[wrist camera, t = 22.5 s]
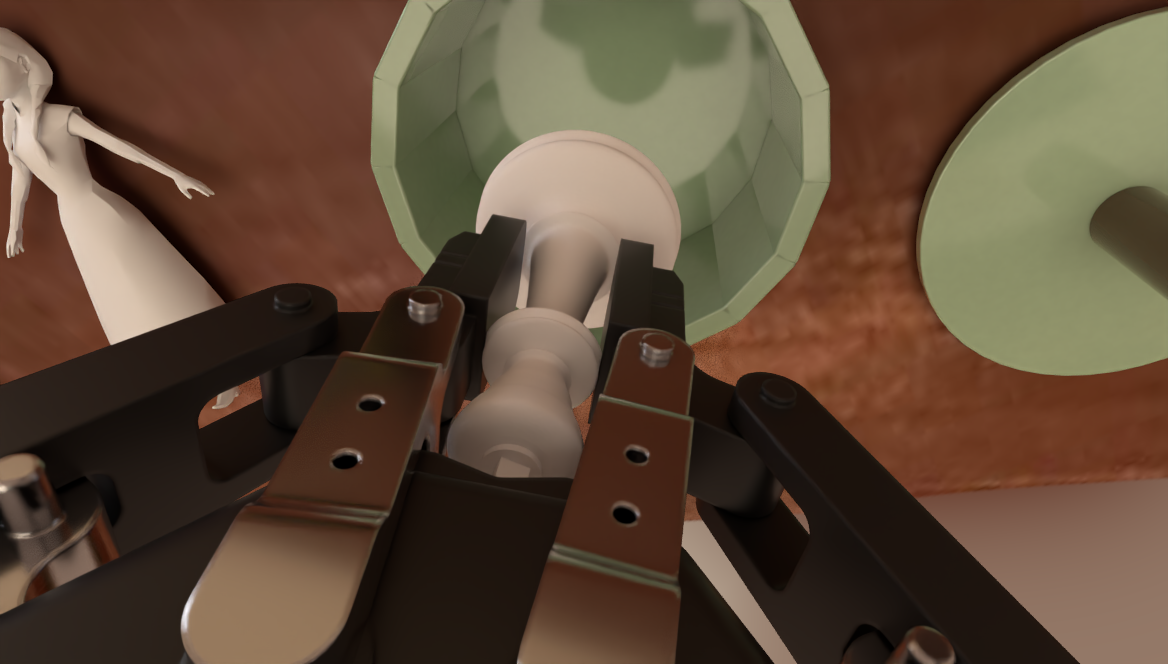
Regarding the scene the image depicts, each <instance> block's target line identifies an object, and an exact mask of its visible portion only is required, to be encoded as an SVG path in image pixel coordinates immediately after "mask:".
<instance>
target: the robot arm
mask: <svg viewBox="0 0 1168 664" xmlns="http://www.w3.org/2000/svg"><path fill="white" fill-rule="evenodd" d="M526 228H527V222H526V220H522V219H517V218H512V217H506V216H501V215H496V214H492V216H491V217H490V219H489V221H488V222H487V224H486V226H485V228H484V229H483V231H482V233H481V234H478V233H472V232H467V231H464V232H462V233H460V234H458V235H456V236H454V237H452V238H450V239H449V240H448V241H447V243H446V244H445V246H444V247H443V249H442V250H441V253H439V255H438V256H437V258H436V259H435V262H433V264H432V265H431V267H430V268H429V270H428V271H427V273H426V274H425V276H424V277H423V279H422V280H421V282H420V283H419V285H418V286H412V287H407V288H403V289H400V290H398V291H395V292H394V293H392V294H391V295H390V296H389V297H388V298H387V299H386V301H385V303H384V305H383V307H382V309H381V311H376V312H338V307H337V299H336V297H335V296H334V295H333V294H332V293H331V292H330V291H328V290H326V289H324V288H322V287H319V286H315V285H311V284H301V283H292V284H282V285H277V286H273V287H270V288H267V289H264V290H261V291H259V292H256V293H253V294H250V295H248V296H245V297H242V298H239V299H237V300H234V301H231V302H228V303H226V304H223V305H220V306H217V307H215V308H212V309H209V310H206V311H204V312H201V313H198V314H195V315H193V316H190V317H187V318H184V319H182V320H179V321H176V322H173V323H171V324H168V325H165V326H162V327H160V328H157V329H154V330H151V331H149V332H146V333H143V334H140V335H138V336H135V337H132V338H129V339H127V340H124V341H121V342H118V343H116V344H113V345H110V346H107V347H105V348H102V349H99V350H96V351H94V352H91V353H88V354H85V355H83V356H80V357H77V358H74V359H72V360H69V361H66V362H63V363H61V364H58V365H55V366H52V367H50V368H47V369H44V370H41V371H39V372H36V373H33V374H30V375H28V376H25V377H22V378H19V379H17V380H14V381H11V382H8V383H6V384H3V385H0V664H774V663H773V662H772V660H771V659H770V657H769V656H768V655H767V654H766V652H765V651H764V650H763V648H762V647H761V646H760V645H759V643H758V642H757V641H756V640H755V638H754V637H753V636H752V634H751V633H750V632H749V630H748V629H747V628H746V627H745V625H744V624H743V623H742V622H741V620H740V619H739V618H738V616H737V615H736V614H735V612H734V611H733V610H732V609H731V607H730V606H729V605H728V604H727V602H726V601H725V600H724V598H722V596H721V595H720V593H719V592H718V591H717V589H716V588H715V587H714V586H713V584H712V583H711V582H710V581H709V579H708V578H707V577H706V575H705V574H704V573H703V571H702V570H701V569H700V568H699V566H698V565H697V564H696V562H695V561H694V560H693V559H692V557H691V556H690V555H689V554H688V552H687V551H686V550H685V549H684V548H683V547H682V546H681V544H682V534H683V525H684V515H685V505H686V495H687V493H688V494H690V495H692V496H694V497H696V508H697V510H698V513H699V515H700V517H701V518H702V520H703V521H704V523H705V524H706V526H707V527H708V529H709V530H710V532H711V533H712V535H713V536H714V538H715V539H716V541H717V543H718V544H719V546H720V547H721V549H722V550H723V552H724V553H725V555H726V556H727V558H728V559H729V561H730V562H731V564H732V565H733V567H734V568H735V570H736V571H737V573H738V574H739V576H740V577H741V579H742V580H743V582H744V583H745V585H746V586H747V588H748V590H749V591H750V593H751V594H752V596H753V597H754V599H755V600H756V602H757V603H758V605H759V606H760V608H761V609H762V611H763V612H764V614H765V615H766V617H767V618H768V620H769V621H770V623H771V624H772V626H773V627H774V629H775V630H776V632H777V634H778V635H779V636H780V638H781V640H782V641H783V643H784V644H785V646H786V647H787V649H788V650H789V652H790V653H791V655H792V656H793V658H794V659H795V661H796V662H797V664H1080V663H1079V662H1078V661H1077V660H1076V659H1075V658H1074V657H1073V656H1072V655H1071V654H1070V653H1069V652H1068V651H1067V650H1066V649H1065V648H1064V647H1063V646H1062V645H1061V644H1060V643H1059V642H1058V641H1057V640H1056V639H1055V638H1054V637H1053V636H1052V635H1051V634H1050V633H1049V632H1048V631H1047V630H1046V629H1045V628H1044V627H1043V626H1042V625H1041V624H1040V623H1039V622H1038V621H1037V620H1036V619H1035V618H1034V617H1033V616H1032V615H1031V614H1030V613H1029V612H1028V611H1027V610H1026V609H1025V608H1024V607H1023V606H1022V605H1021V604H1020V603H1019V602H1018V601H1017V600H1016V599H1015V598H1014V597H1013V596H1012V595H1011V594H1010V593H1009V592H1008V591H1007V590H1006V589H1005V588H1004V587H1003V586H1002V585H1001V584H1000V583H999V582H998V581H997V580H996V579H995V578H994V577H993V576H992V575H991V574H990V573H989V572H988V571H987V570H986V569H985V568H984V567H983V566H982V565H981V564H980V563H979V562H978V561H977V560H976V559H975V558H974V557H973V556H972V555H971V554H970V553H969V552H968V551H967V550H966V549H965V548H964V547H963V546H962V545H961V544H960V543H959V542H958V541H957V540H956V539H955V538H954V537H953V536H952V535H951V534H950V533H949V532H948V531H947V530H946V529H945V528H944V527H943V526H942V525H941V524H940V523H939V522H938V521H937V520H936V519H935V518H934V517H933V516H932V515H931V514H930V513H929V512H928V511H927V510H926V509H925V508H924V507H923V506H922V505H921V504H920V503H919V502H918V501H917V500H916V499H915V498H914V497H913V496H912V495H911V494H910V493H909V492H908V491H907V490H906V489H905V488H904V487H903V486H902V485H901V484H900V483H899V482H898V481H897V480H896V479H895V478H894V477H893V476H892V475H891V474H890V473H889V472H888V471H887V470H886V469H885V468H884V467H883V466H882V465H881V464H880V463H879V462H878V461H877V460H876V459H875V458H874V457H873V456H872V455H871V454H870V453H869V452H868V451H867V450H866V449H865V448H864V447H863V446H862V445H861V444H860V443H859V442H858V441H857V440H856V439H855V438H854V437H853V436H852V435H851V434H850V433H849V432H848V431H847V430H846V429H845V428H844V427H843V426H842V425H841V424H840V423H839V422H838V421H837V420H836V419H835V418H834V417H833V416H832V415H831V414H830V413H829V412H828V411H827V410H826V409H825V408H824V407H823V406H822V405H821V404H820V403H819V402H818V401H817V400H816V399H815V398H814V397H813V396H812V395H811V394H810V393H809V392H808V391H807V390H806V389H805V388H804V387H802V386H801V385H799V384H798V383H796V382H794V381H792V380H790V379H788V378H786V377H783V376H780V375H777V374H773V373H766V372H754V373H749V374H746V375H744V376H742V377H741V378H740V379H739V380H738V381H737V384H736V387H735V386H733V385H730V384H728V383H725V382H723V381H720V380H718V379H716V378H713V377H711V376H710V375H708V374H706V373H704V372H703V371H702V370H700V369H699V368H698V367H697V366H695V364H694V362H695V354H694V351H693V350H692V348H691V347H690V346H689V344H688V343H686V335H685V310H684V308H685V307H684V284H683V283H682V281H681V280H680V279H679V277H678V276H677V275H676V273H675V272H674V271H672V270H667V269H662V268H656V267H653V255H654V244H648V243H643V242H638V241H633V240H627V239H622V238H621V241H620V245H619V250H618V255H617V260H616V265H615V270H614V275H613V280H612V285H611V290H610V294H609V299H608V304H607V310H606V315H605V320H604V326H603V332H602V338H601V344H600V349H601V352H602V357H601V362H600V367H599V372H598V380H597V383H596V386H595V389H594V391H593V395H592V401H591V407H590V413H589V420H588V423H589V424H590V427H589V431H588V434H587V437H586V440H585V444H584V447H583V450H582V454H581V457H580V460H579V463H578V467H577V470H576V473H575V476H574V479H571V478H566V477H496V476H493V475H490V474H487V473H485V472H482V471H480V470H478V469H475V468H473V467H470V466H468V465H465V464H463V463H461V462H458V461H456V460H453V459H451V458H449V457H448V452H447V437H448V433H449V430H450V428H451V425H452V423H453V422H454V420H455V419H456V417H457V414H458V412H459V410H460V408H461V406H462V403H463V401H464V400H469V401H472V400H473V399H474V398H476V397H477V396H478V395H480V394H481V393H483V391H484V389H485V386H486V384H487V379H486V377H485V374H484V371H483V366H482V354H483V350H484V347H485V340H486V334H487V331H488V330H489V328H490V327H491V326H492V325H493V324H494V323H495V322H496V321H497V320H498V319H499V318H501V317H502V316H504V315H506V314H508V313H510V312H512V311H515V307H516V303H517V299H518V294H519V288H520V280H521V272H522V263H523V255H524V246H525V238H526ZM258 376H259V378H260V385H261V392H262V399H260V400H258V401H256V402H254V403H252V404H250V405H248V406H245V407H243V408H241V409H239V410H237V411H235V412H233V413H231V414H229V415H227V416H225V417H223V418H221V419H219V420H217V421H215V422H213V423H211V424H209V425H207V426H205V427H203V428H201V429H199V426H198V417H199V414H200V412H201V410H202V409H203V407H204V406H205V405H206V403H207V402H209V401H210V400H211V399H212V398H214V397H215V396H217V395H219V394H221V393H223V392H225V391H228V390H230V389H232V388H234V387H236V386H238V385H240V384H243V383H245V382H247V381H249V380H251V379H253V378H256V377H258ZM269 480H270V481H269ZM267 481H269V483H268V485H267V486H265V487H263V488H261V489H259V490H257V491H255V492H253V493H251V494H249V495H247V496H245V497H243V498H241V499H239V498H240V497H242V496H244V495H245V494H247V493H249V492H250V491H252V490H254V489H255V488H257V487H259V486H260V485H262V484H264V483H266V482H267ZM784 488H785V490H786V491H787V492H788V493H789V494H790V496H791V497H792V498H793V499H794V501H795V502H796V503H797V504H798V505H799V507H800V508H801V509H802V511H803V512H804V514H805V516H806V518H807V521H808V524H809V529H810V535H809V534H808V532H807V531H806V530H805V529H804V527H803V526H802V525H801V524H800V522H799V521H798V520H797V519H796V517H795V516H794V515H793V513H792V512H791V511H790V510H789V508H788V507H787V506H786V505H785V503H784V502H783V501H782V500H781V498H780V496H781V494H782V492H783V490H784ZM237 499H239V500H237ZM235 500H236V501H235Z"/></svg>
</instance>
